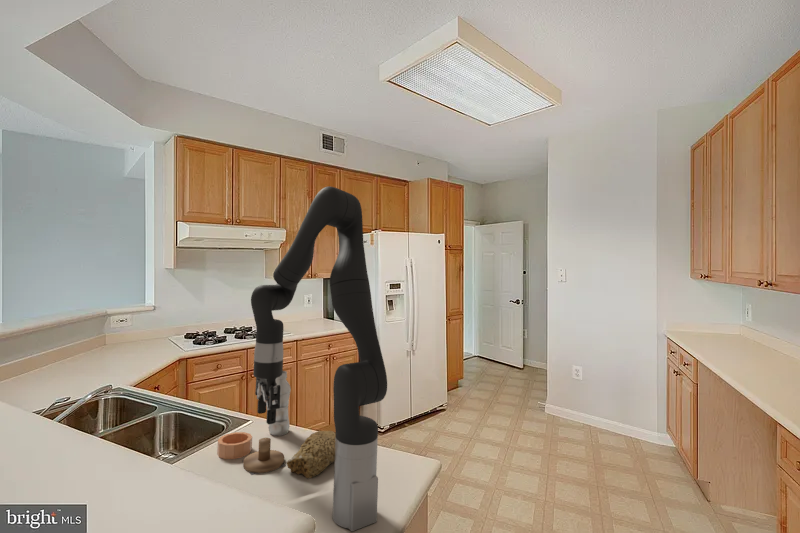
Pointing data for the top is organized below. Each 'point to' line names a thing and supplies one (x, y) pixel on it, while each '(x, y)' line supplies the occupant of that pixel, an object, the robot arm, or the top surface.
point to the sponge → (314, 454)
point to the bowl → (234, 445)
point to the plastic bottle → (281, 408)
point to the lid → (263, 458)
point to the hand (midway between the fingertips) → (266, 418)
